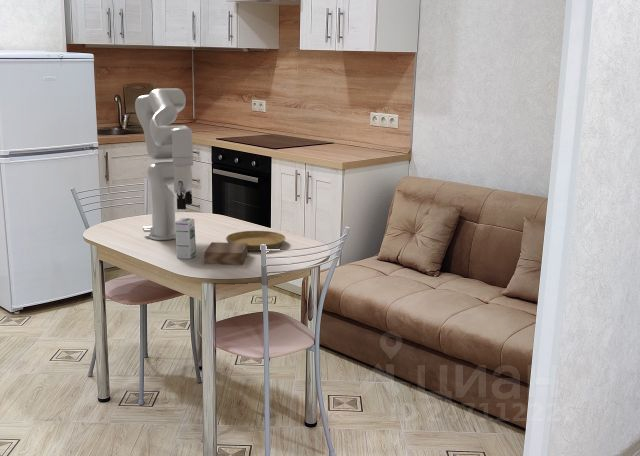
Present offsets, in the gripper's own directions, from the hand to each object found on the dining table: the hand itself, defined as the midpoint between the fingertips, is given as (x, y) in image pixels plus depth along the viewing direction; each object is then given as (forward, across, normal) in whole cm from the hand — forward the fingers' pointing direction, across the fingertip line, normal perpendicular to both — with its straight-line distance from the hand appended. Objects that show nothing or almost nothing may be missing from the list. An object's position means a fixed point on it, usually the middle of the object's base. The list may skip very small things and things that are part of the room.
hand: (184, 206), depth 270 cm
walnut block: (+20, +1, +16) cm, 26 cm away
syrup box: (+20, -1, 0) cm, 20 cm away
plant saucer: (+20, -21, +24) cm, 37 cm away
